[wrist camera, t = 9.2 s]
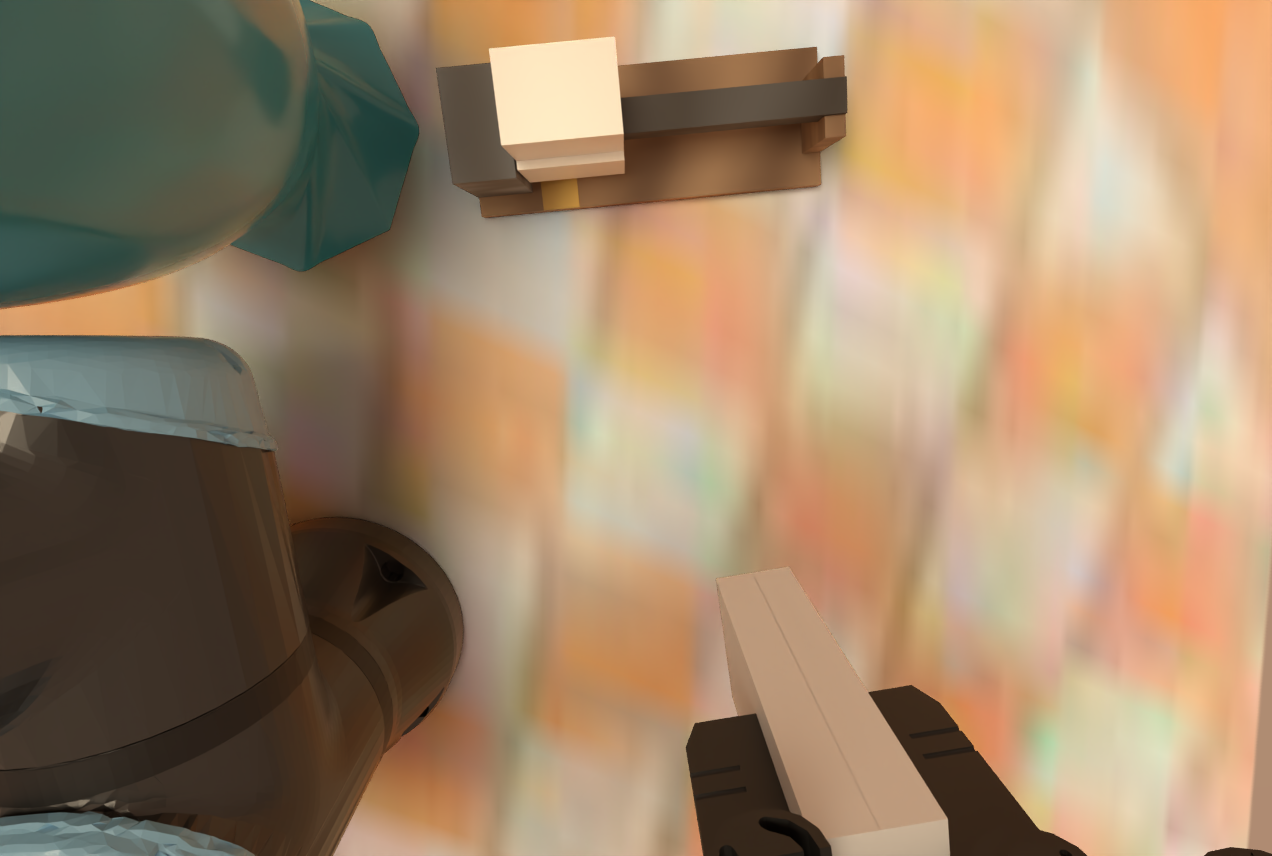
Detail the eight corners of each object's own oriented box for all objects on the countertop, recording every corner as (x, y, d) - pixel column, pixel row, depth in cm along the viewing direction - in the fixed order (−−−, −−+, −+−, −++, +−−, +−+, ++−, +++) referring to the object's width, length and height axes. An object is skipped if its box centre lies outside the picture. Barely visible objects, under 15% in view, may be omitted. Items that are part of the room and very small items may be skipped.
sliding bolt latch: (485, 217, 39) (455, 206, 32) (467, 85, 37) (432, 43, 31) (816, 186, 39) (856, 168, 32) (811, 52, 37) (853, 3, 31)
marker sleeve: (530, 182, 36) (502, 155, 28) (519, 92, 35) (487, 37, 27) (624, 173, 36) (624, 144, 28) (616, 83, 35) (613, 25, 27)
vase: (228, 337, 40) (-823, 508, 11) (61, 42, 37) (-2158, -868, 7) (491, 217, 39) (92, 52, 10) (346, -101, 35) (-983, -1876, 6)
